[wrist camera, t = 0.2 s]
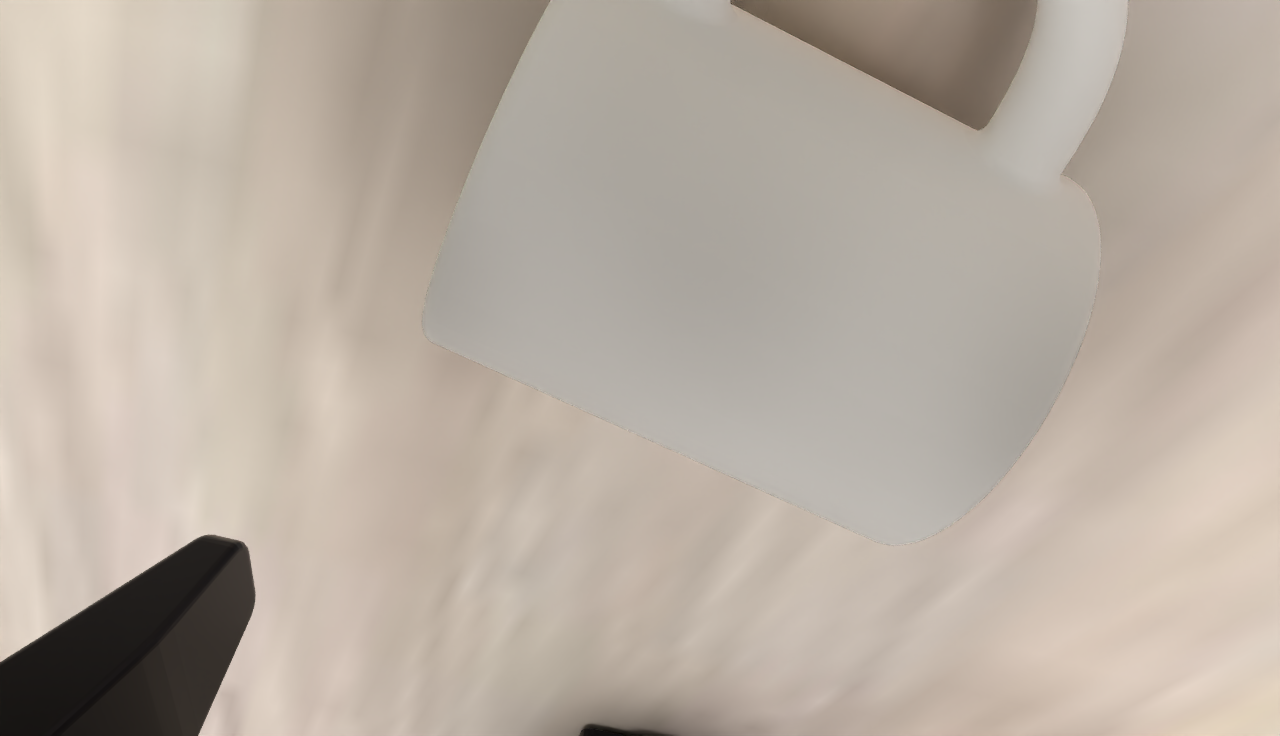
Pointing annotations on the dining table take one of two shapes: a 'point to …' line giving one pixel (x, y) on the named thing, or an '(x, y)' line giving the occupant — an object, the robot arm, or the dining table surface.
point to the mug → (783, 252)
